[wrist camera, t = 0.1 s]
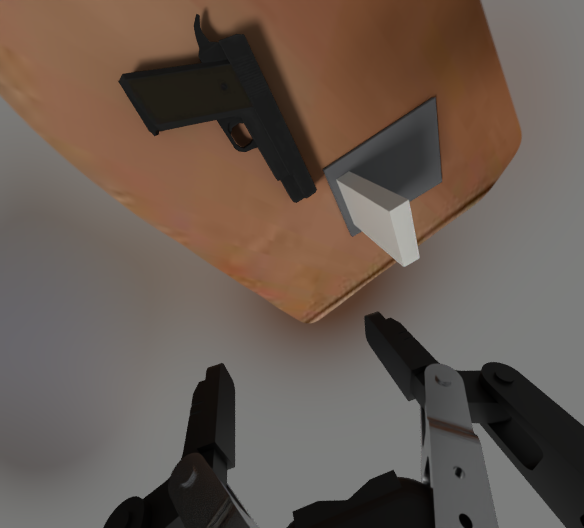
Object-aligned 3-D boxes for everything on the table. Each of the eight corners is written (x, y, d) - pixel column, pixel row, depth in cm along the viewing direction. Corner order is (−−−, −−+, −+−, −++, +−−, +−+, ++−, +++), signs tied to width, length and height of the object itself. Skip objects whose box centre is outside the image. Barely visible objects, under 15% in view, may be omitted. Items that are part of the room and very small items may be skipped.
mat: (350, 235, 37) (352, 236, 36) (322, 169, 30) (324, 170, 29) (438, 180, 35) (441, 181, 35) (431, 97, 28) (435, 97, 28)
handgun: (242, 243, 30) (319, 194, 29) (103, 79, 18) (221, -13, 17) (241, 234, 32) (311, 188, 31) (116, 82, 21) (221, 1, 20)
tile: (354, 224, 35) (403, 267, 25) (336, 179, 30) (389, 211, 21) (366, 216, 35) (421, 256, 25) (350, 170, 30) (411, 198, 20)
